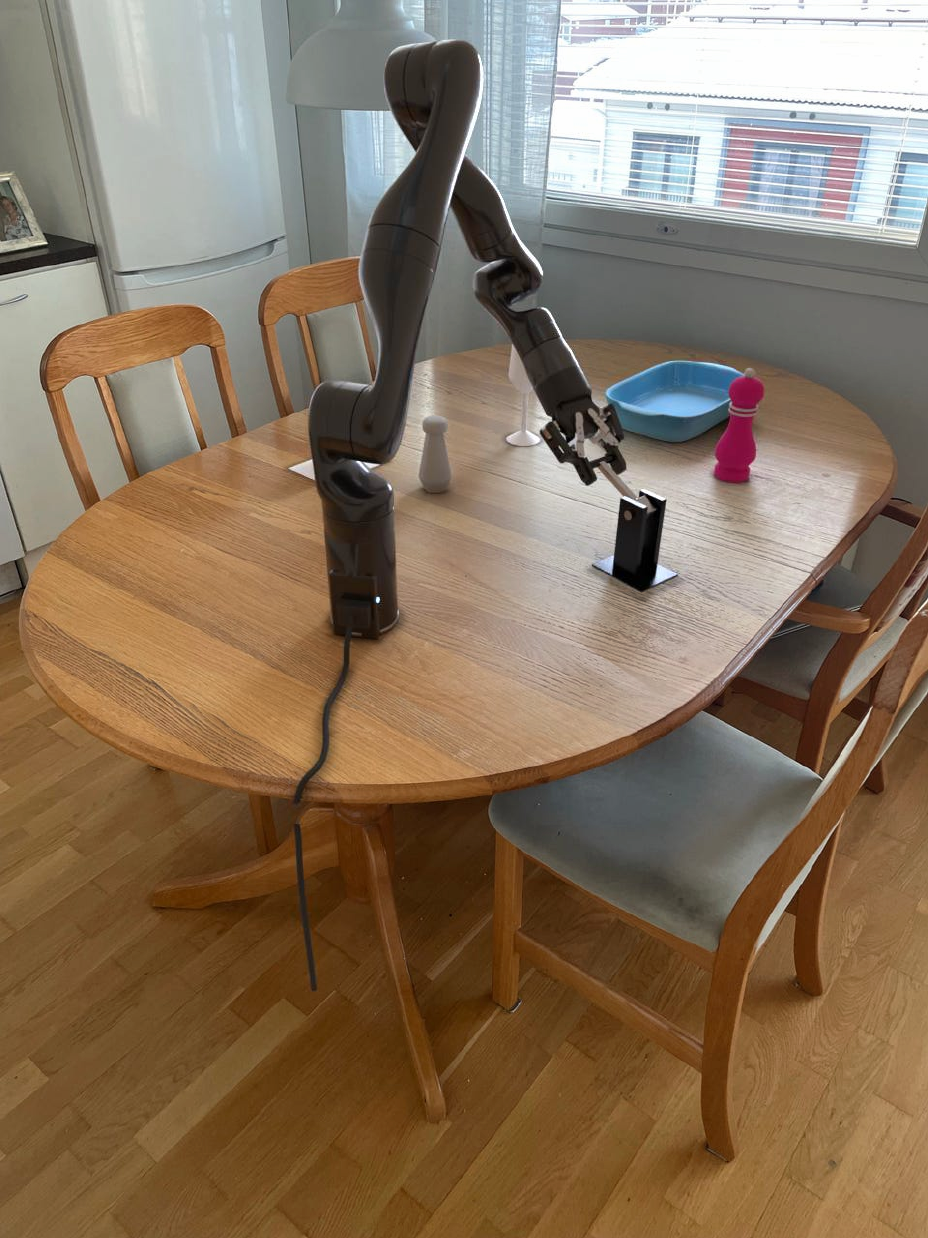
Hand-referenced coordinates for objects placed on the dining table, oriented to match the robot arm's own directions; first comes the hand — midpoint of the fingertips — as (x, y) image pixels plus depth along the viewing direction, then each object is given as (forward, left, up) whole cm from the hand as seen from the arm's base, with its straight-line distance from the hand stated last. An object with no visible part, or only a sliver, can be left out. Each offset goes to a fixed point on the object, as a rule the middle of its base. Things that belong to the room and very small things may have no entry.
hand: (606, 477), depth 136 cm
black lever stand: (-5, -6, -13) cm, 15 cm away
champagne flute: (+45, +18, -14) cm, 51 cm away
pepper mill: (+36, -22, -14) cm, 44 cm away
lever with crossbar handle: (-2, -2, -2) cm, 3 cm away
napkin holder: (+25, +50, -14) cm, 58 cm away
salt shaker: (+19, +30, -14) cm, 39 cm away
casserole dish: (+64, -12, -14) cm, 67 cm away
